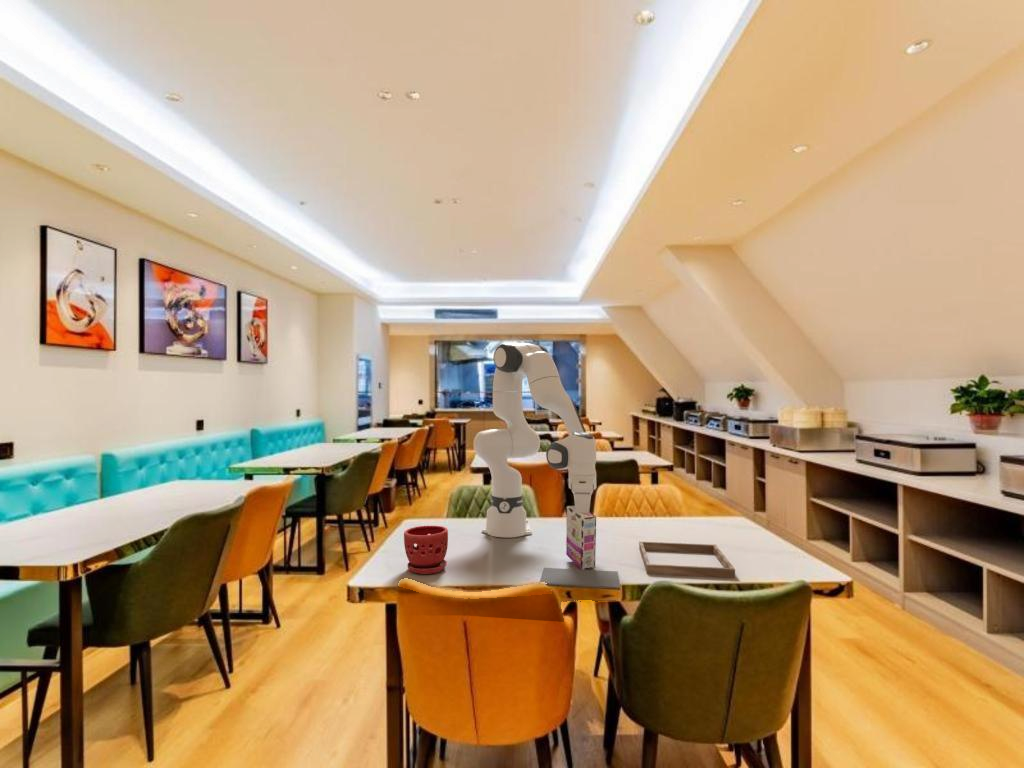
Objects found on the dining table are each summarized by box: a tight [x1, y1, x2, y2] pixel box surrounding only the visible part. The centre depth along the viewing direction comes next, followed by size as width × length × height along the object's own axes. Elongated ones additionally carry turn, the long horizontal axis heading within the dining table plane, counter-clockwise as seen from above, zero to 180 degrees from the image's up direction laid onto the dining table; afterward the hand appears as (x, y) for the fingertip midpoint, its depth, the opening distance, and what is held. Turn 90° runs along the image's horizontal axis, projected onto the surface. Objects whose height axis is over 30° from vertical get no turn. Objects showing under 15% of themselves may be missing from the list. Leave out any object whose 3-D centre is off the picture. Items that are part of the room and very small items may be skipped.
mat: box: [539, 567, 621, 590], centre depth 160 cm, size 13×22×1 cm, turn 82°
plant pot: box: [403, 525, 449, 575], centre depth 167 cm, size 13×13×12 cm
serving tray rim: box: [638, 541, 736, 579], centre depth 175 cm, size 25×25×2 cm
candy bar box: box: [565, 504, 597, 570], centre depth 171 cm, size 11×5×16 cm, turn 20°
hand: (582, 525), depth 178 cm, fingers closed
